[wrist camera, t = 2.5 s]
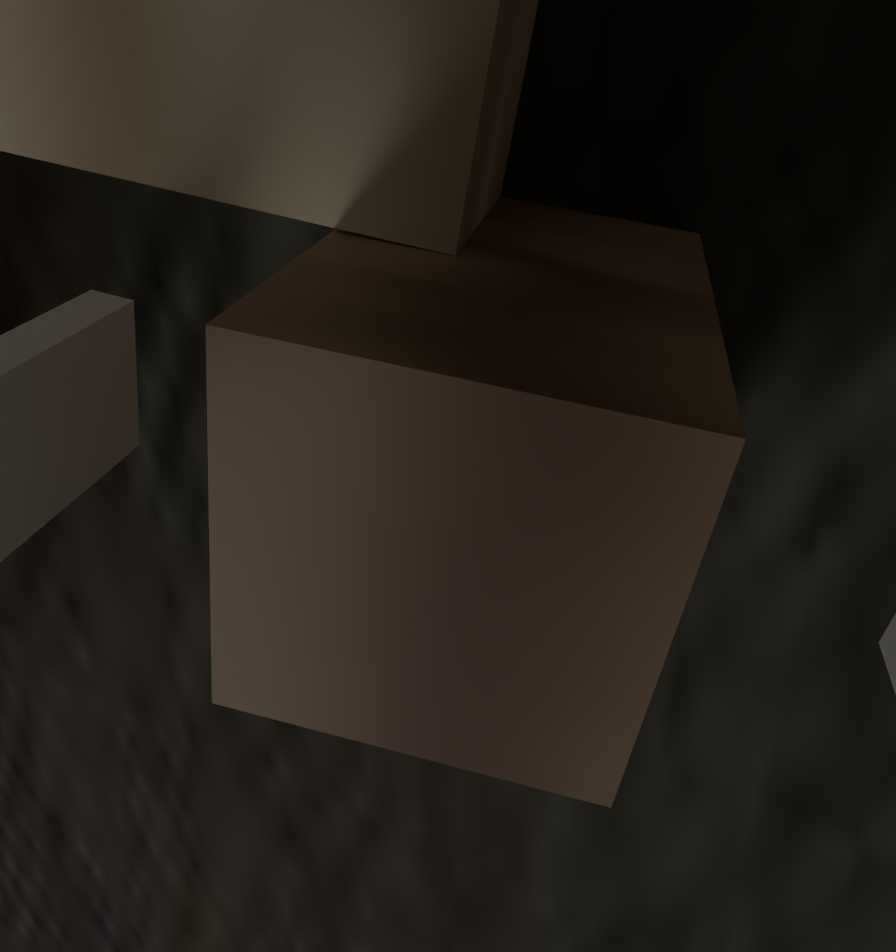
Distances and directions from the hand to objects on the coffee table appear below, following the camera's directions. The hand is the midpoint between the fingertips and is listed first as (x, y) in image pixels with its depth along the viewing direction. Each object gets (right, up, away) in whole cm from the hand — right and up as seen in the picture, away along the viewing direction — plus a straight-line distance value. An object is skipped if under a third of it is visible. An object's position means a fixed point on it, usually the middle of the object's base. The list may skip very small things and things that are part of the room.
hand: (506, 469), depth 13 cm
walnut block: (+1, +3, +5) cm, 6 cm away
